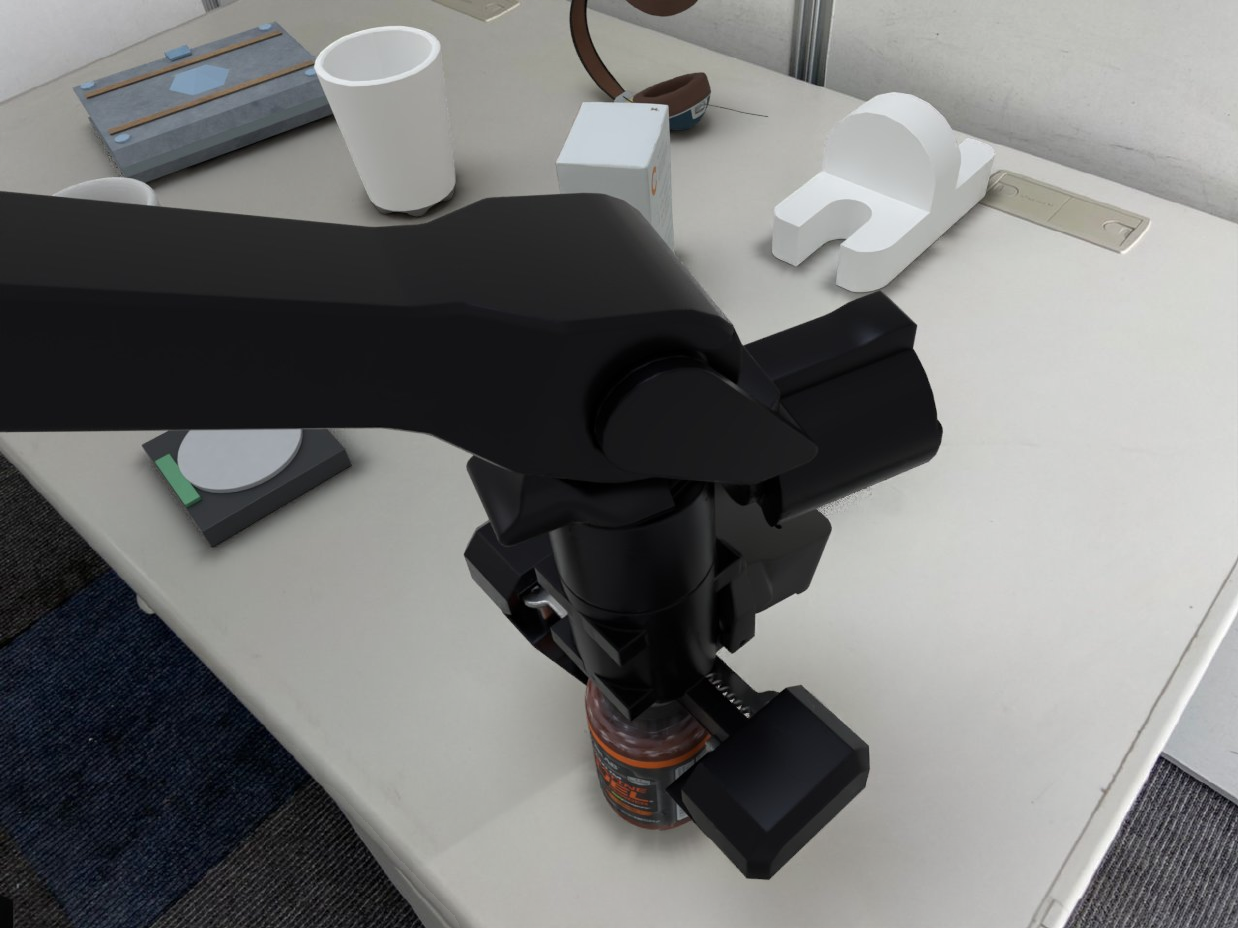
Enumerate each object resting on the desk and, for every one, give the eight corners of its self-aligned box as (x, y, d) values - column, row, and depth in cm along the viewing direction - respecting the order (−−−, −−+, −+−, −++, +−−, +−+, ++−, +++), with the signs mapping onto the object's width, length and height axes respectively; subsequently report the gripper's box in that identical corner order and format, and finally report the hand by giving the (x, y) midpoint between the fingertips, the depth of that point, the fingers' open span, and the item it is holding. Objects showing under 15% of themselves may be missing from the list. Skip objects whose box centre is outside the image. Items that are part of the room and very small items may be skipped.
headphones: (791, 134, 86) (610, 88, 98) (786, -50, 75) (584, -76, 87) (748, 166, 83) (567, 115, 95) (736, -20, 72) (534, -51, 84)
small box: (597, 252, 78) (581, 99, 68) (676, 257, 77) (671, 102, 67) (574, 317, 73) (553, 162, 63) (658, 324, 72) (649, 166, 62)
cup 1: (64, 286, 80) (1, 186, 73) (176, 244, 83) (126, 143, 76) (98, 371, 73) (32, 268, 66) (220, 321, 75) (169, 217, 68)
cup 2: (363, 238, 82) (317, 95, 72) (353, 178, 88) (309, 39, 78) (479, 213, 83) (449, 69, 73) (461, 155, 89) (431, 16, 80)
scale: (211, 548, 60) (199, 528, 59) (151, 460, 66) (138, 440, 64) (352, 465, 64) (343, 444, 63) (283, 389, 70) (274, 368, 68)
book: (135, 196, 89) (110, 146, 85) (91, 125, 98) (66, 77, 94) (347, 117, 95) (332, 68, 92) (287, 58, 105) (271, 11, 101)
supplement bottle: (574, 789, 48) (546, 674, 40) (645, 700, 51) (632, 576, 43) (673, 860, 46) (664, 754, 37) (741, 762, 49) (748, 643, 40)
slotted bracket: (870, 299, 72) (887, 182, 64) (764, 252, 76) (770, 138, 69) (992, 189, 80) (1020, 73, 72) (890, 152, 85) (907, 40, 77)
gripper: (1003, 575, 32) (932, 774, 44) (637, 316, 42) (658, 533, 54) (762, 795, 28) (754, 950, 40) (421, 449, 38) (494, 653, 50)
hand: (660, 742), depth 46 cm, fingers closed on supplement bottle, 7 cm apart
